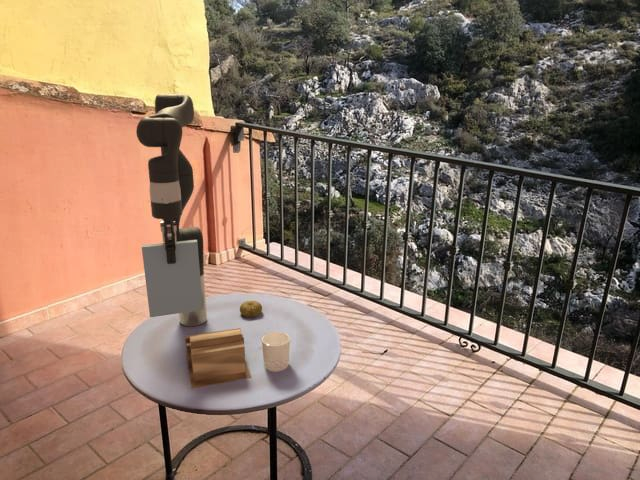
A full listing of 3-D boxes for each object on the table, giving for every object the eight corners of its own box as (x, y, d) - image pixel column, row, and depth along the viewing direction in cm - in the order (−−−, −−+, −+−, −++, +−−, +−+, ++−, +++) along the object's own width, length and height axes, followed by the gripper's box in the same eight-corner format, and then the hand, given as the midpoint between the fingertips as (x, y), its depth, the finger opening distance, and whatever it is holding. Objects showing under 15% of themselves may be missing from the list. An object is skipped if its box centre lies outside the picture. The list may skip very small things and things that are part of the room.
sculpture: (266, 302, 171) (251, 310, 165) (266, 312, 173) (251, 321, 166) (250, 297, 176) (234, 304, 170) (250, 307, 177) (235, 314, 171)
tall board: (150, 314, 131) (141, 244, 125) (202, 306, 135) (196, 239, 129) (150, 317, 129) (141, 247, 123) (202, 309, 133) (197, 241, 127)
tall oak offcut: (192, 368, 135) (189, 336, 132) (241, 359, 140) (240, 329, 137) (193, 373, 133) (190, 341, 130) (243, 365, 137) (241, 334, 134)
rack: (187, 361, 141) (185, 336, 139) (241, 352, 146) (240, 328, 144) (191, 393, 127) (189, 365, 124) (251, 382, 132) (250, 355, 129)
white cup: (279, 380, 133) (278, 348, 130) (257, 371, 137) (256, 340, 134) (295, 367, 139) (295, 336, 136) (273, 359, 143) (273, 329, 140)
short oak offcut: (193, 374, 132) (191, 349, 130) (243, 366, 137) (242, 341, 134) (194, 380, 129) (192, 354, 127) (245, 371, 134) (244, 346, 131)
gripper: (150, 193, 127) (156, 254, 132) (150, 205, 115) (157, 272, 120) (179, 191, 130) (184, 252, 135) (182, 203, 117) (188, 269, 122)
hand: (171, 261), depth 127 cm, fingers closed on tall board, 2 cm apart
